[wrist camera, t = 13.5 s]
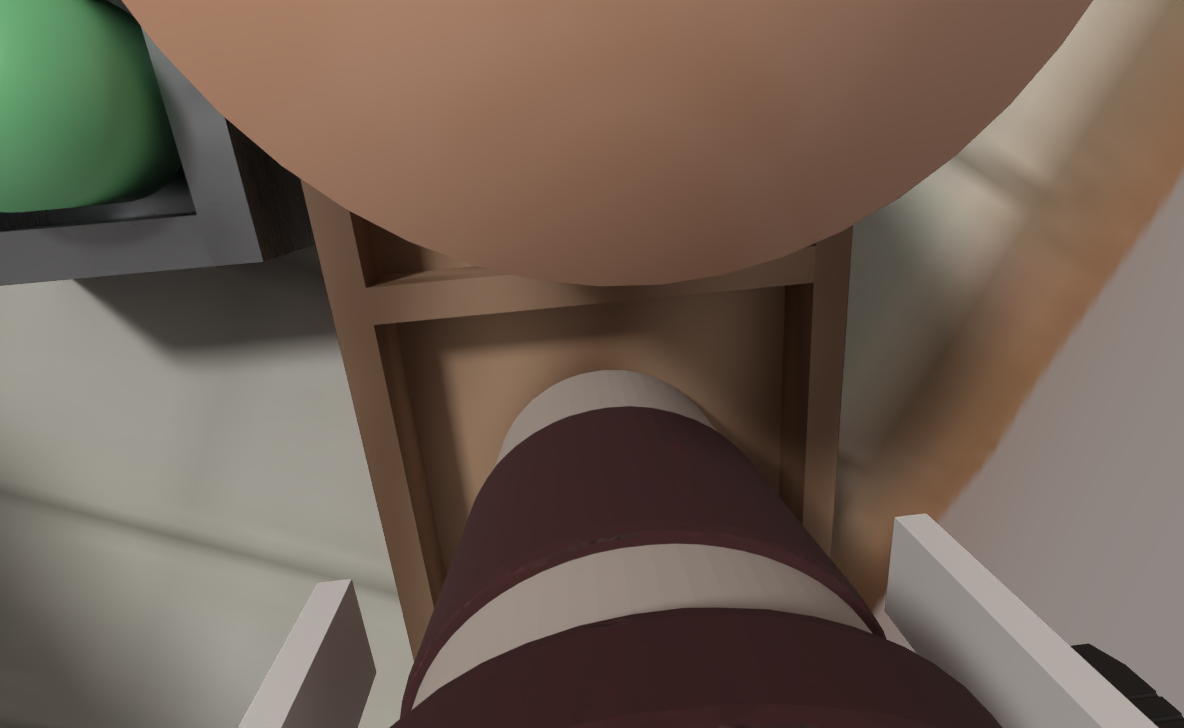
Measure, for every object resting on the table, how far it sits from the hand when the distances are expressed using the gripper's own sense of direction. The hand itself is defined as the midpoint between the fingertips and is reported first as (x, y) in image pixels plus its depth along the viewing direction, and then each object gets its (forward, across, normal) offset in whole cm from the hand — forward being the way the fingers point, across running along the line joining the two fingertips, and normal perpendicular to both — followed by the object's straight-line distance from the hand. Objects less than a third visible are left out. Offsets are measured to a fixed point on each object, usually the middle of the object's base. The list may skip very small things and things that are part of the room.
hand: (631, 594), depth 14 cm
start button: (+5, -12, +12) cm, 18 cm away
